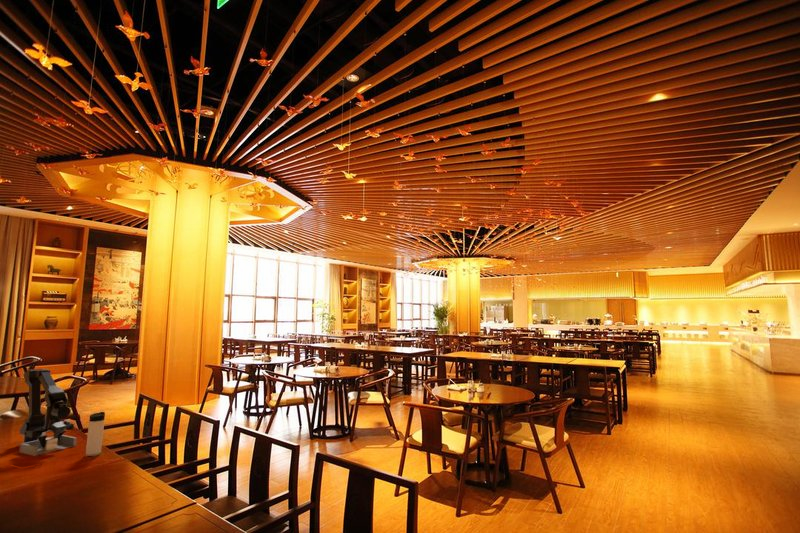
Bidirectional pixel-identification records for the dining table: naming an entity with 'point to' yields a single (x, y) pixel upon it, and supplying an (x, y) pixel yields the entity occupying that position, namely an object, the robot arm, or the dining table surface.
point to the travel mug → (95, 434)
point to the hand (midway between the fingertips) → (49, 447)
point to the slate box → (35, 449)
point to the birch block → (50, 443)
